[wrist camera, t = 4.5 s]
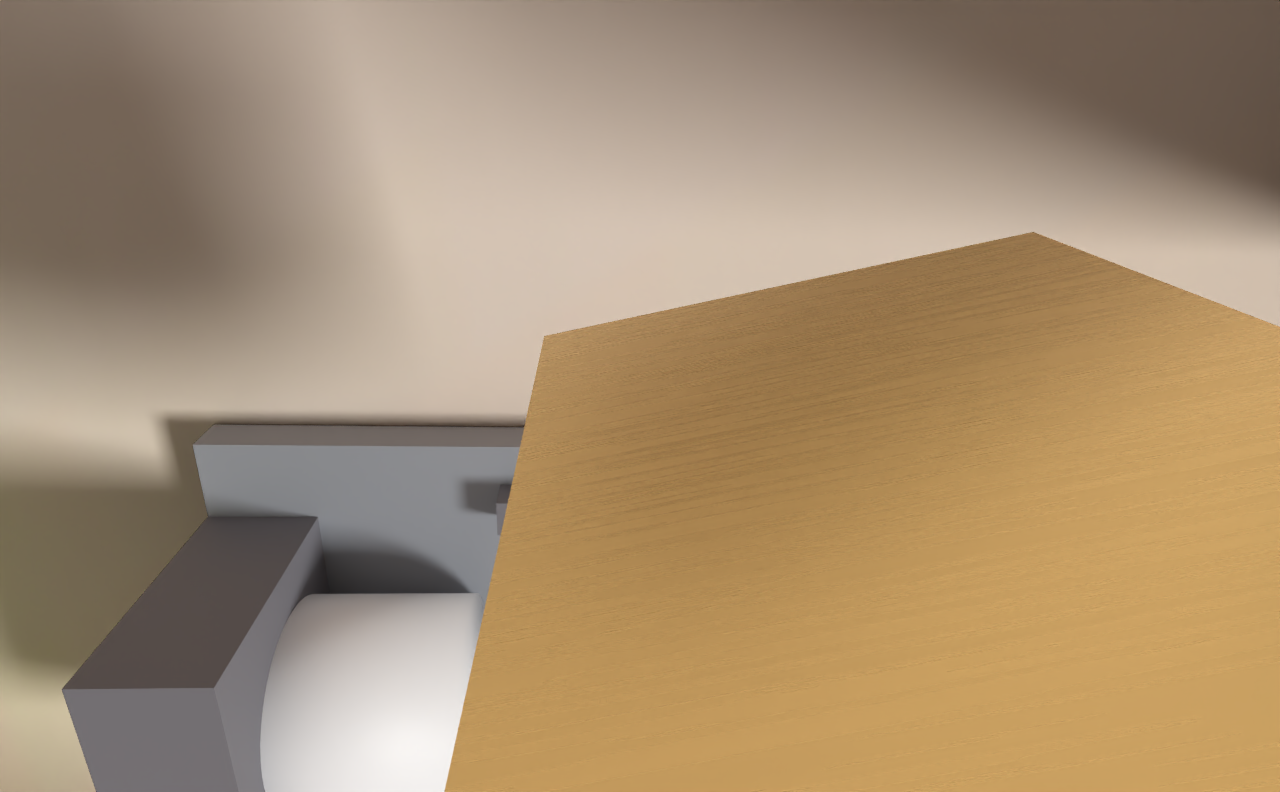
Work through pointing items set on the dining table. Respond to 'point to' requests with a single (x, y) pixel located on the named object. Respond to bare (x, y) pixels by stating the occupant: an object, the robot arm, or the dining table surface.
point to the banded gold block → (893, 542)
